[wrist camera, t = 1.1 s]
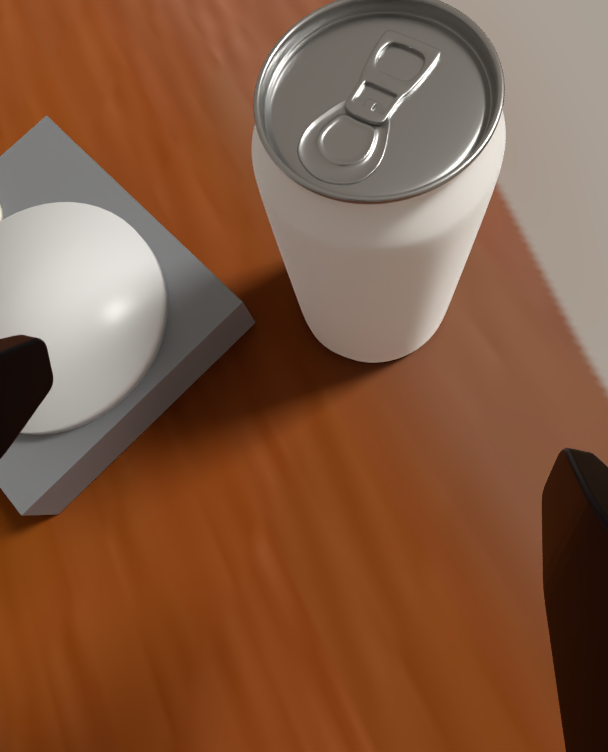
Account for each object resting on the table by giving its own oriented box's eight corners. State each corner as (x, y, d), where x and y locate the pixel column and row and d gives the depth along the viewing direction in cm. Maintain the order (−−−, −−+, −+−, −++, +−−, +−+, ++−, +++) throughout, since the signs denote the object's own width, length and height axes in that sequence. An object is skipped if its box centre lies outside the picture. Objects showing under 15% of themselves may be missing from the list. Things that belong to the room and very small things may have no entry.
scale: (255, 322, 24) (237, 294, 20) (58, 514, 23) (7, 515, 19) (75, 149, 27) (36, 103, 24) (-102, 309, 26) (-168, 282, 23)
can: (273, 320, 24) (180, 143, 12) (349, 207, 24) (331, -59, 13) (398, 393, 22) (429, 271, 11) (474, 271, 23) (580, 33, 11)
